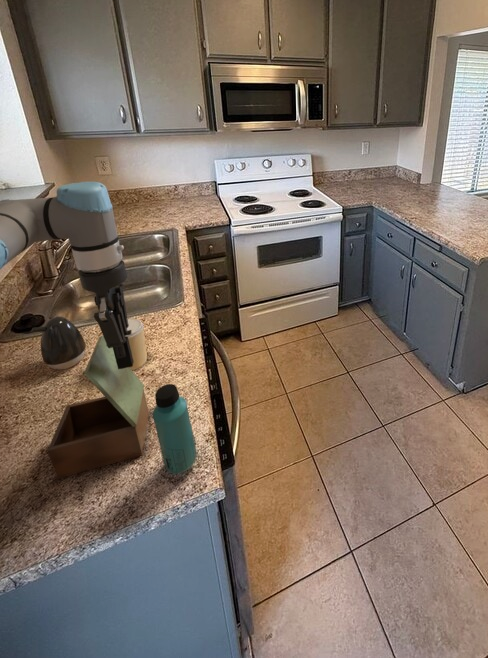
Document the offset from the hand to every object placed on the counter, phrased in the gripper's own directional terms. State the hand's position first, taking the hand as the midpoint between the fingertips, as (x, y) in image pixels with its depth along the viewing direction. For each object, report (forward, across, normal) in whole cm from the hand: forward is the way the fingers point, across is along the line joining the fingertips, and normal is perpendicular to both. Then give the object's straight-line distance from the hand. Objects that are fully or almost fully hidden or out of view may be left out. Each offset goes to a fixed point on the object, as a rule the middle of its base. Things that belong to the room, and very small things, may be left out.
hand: (126, 365), depth 75 cm
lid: (+3, 0, +3) cm, 4 cm away
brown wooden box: (+19, 0, +7) cm, 21 cm away
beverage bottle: (+19, -11, -9) cm, 24 cm away
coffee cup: (+19, +27, +6) cm, 34 cm away
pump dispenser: (+19, +33, +24) cm, 45 cm away
